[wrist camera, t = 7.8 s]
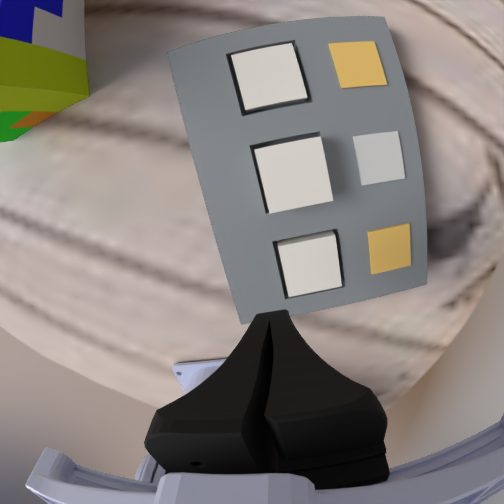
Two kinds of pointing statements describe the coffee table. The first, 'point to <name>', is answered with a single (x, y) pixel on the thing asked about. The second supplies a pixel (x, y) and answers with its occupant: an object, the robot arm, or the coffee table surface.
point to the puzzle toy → (40, 61)
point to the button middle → (294, 174)
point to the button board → (336, 154)
